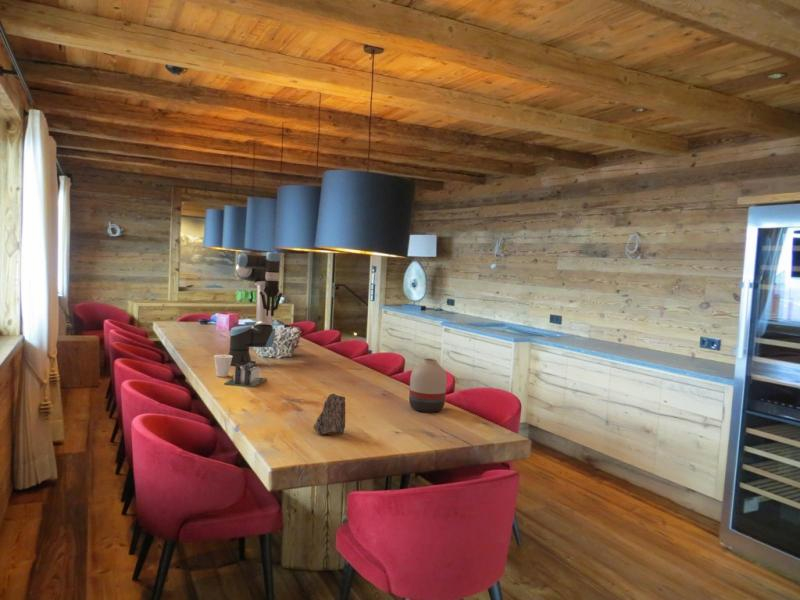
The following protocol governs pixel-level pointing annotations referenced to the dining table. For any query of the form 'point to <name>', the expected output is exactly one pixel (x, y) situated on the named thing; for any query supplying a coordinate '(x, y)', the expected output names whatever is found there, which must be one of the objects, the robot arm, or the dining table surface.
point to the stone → (331, 416)
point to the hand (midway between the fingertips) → (269, 321)
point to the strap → (245, 365)
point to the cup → (222, 365)
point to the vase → (427, 386)
